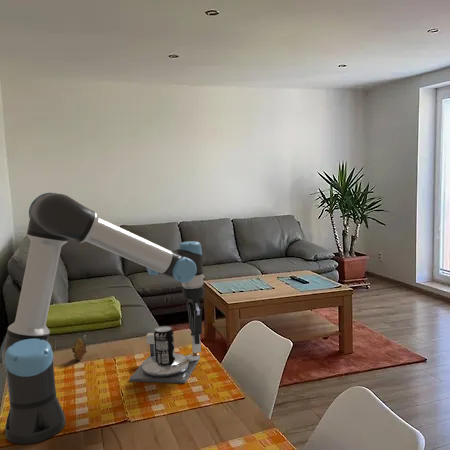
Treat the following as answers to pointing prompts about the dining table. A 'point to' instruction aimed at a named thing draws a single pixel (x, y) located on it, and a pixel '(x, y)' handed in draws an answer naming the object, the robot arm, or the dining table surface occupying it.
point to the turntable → (167, 370)
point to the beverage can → (164, 345)
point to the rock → (79, 348)
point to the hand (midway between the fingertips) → (196, 351)
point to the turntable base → (176, 378)
